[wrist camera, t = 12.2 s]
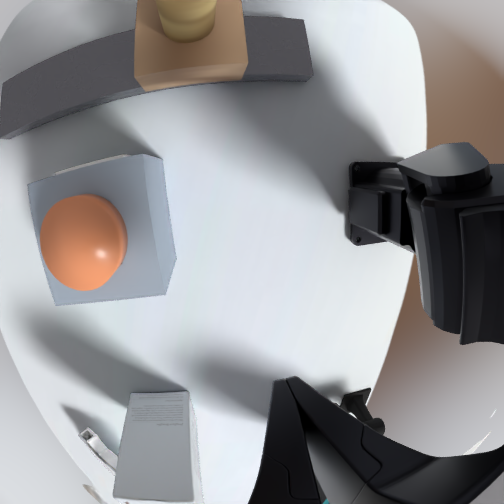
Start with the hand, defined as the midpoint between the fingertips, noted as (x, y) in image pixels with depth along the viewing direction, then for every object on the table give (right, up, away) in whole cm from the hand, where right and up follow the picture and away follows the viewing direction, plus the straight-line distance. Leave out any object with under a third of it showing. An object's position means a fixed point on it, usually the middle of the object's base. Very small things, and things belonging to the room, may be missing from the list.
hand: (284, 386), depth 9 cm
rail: (-9, +18, +6) cm, 21 cm away
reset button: (-10, +6, +5) cm, 13 cm away
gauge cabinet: (-10, +7, +9) cm, 15 cm away
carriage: (-5, +18, +5) cm, 19 cm away
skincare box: (-10, -10, +14) cm, 20 cm away
